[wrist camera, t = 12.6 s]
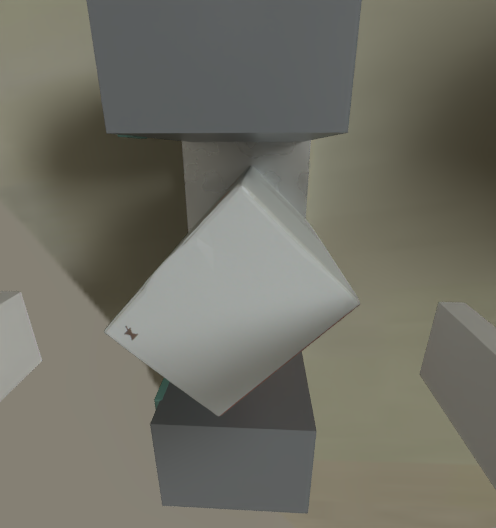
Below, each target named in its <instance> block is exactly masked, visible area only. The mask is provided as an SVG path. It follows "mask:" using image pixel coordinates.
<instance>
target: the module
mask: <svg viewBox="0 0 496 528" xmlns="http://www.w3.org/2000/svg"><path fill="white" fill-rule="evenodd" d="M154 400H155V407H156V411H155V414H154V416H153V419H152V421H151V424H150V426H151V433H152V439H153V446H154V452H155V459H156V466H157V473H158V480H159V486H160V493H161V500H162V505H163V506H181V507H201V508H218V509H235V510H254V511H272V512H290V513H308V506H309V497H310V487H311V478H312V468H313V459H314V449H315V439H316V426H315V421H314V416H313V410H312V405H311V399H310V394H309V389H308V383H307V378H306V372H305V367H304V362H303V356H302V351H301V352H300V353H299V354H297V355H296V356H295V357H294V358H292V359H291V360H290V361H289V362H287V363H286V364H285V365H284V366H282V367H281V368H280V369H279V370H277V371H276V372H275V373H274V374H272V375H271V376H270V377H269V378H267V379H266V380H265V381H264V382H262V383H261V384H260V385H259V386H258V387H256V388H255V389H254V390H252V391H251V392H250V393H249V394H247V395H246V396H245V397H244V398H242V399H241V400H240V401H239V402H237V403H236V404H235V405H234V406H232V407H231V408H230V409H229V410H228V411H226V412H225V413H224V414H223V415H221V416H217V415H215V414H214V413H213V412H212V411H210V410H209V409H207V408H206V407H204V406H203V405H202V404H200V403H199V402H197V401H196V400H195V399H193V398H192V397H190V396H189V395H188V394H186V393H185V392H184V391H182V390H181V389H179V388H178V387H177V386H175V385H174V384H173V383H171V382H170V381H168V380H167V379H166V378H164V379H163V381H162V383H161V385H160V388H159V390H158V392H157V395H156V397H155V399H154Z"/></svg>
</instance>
